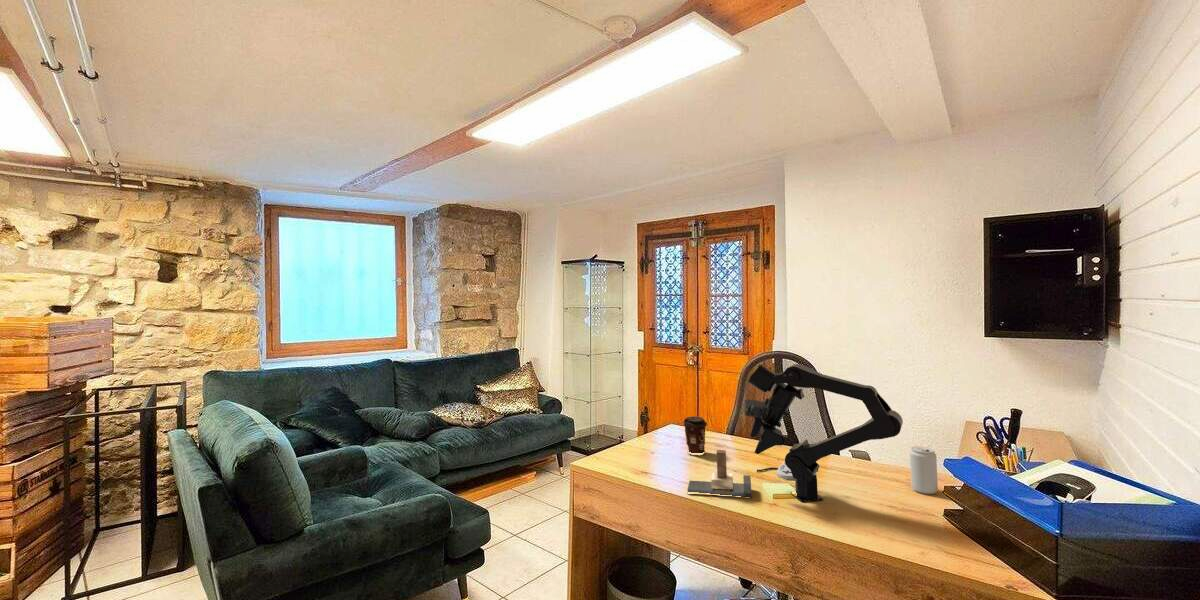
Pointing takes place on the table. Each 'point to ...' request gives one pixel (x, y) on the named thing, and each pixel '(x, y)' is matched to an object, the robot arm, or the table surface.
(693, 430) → the coffee cup
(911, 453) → the beverage can
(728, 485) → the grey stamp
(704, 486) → the clamp rail
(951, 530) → the table surface
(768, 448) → the robot arm
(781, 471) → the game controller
